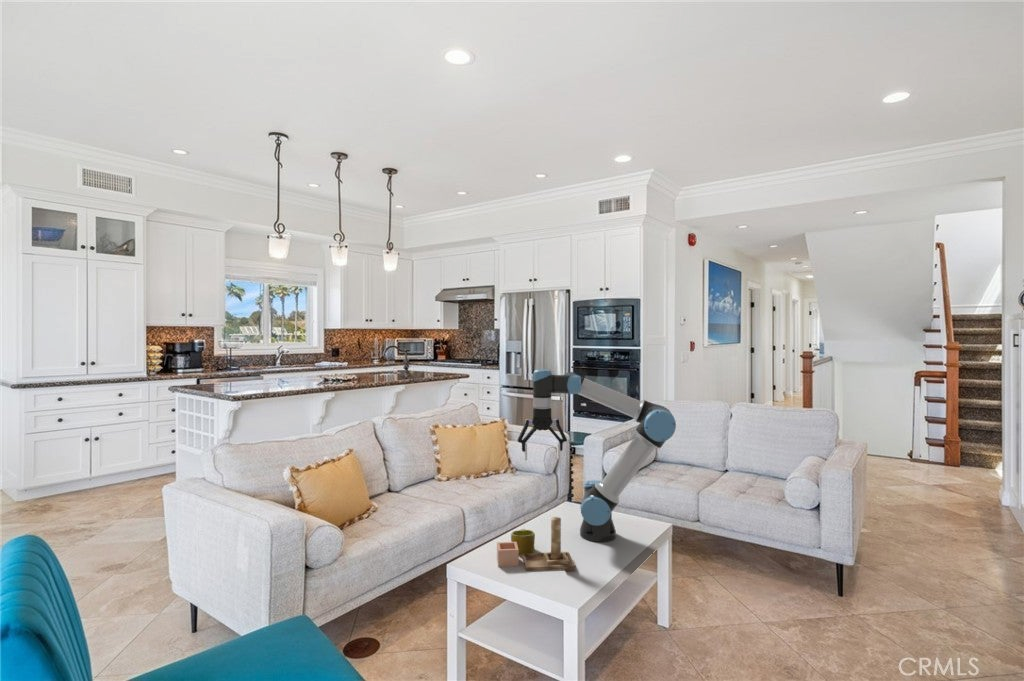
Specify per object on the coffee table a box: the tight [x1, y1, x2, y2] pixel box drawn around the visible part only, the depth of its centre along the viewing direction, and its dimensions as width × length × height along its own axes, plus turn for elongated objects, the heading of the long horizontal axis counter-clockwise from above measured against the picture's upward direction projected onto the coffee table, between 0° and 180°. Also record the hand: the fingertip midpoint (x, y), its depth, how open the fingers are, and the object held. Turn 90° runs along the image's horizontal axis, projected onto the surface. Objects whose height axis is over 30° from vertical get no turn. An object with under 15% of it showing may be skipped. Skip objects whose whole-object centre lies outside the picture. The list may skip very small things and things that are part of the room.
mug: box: [510, 528, 536, 556], centre depth 213 cm, size 12×10×10 cm
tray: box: [521, 551, 576, 573], centre depth 200 cm, size 18×12×3 cm, turn 96°
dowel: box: [550, 516, 562, 560], centre depth 201 cm, size 4×4×16 cm
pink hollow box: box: [496, 541, 520, 568], centre depth 201 cm, size 8×8×7 cm
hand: (542, 459), depth 221 cm, fingers open, 13 cm apart
